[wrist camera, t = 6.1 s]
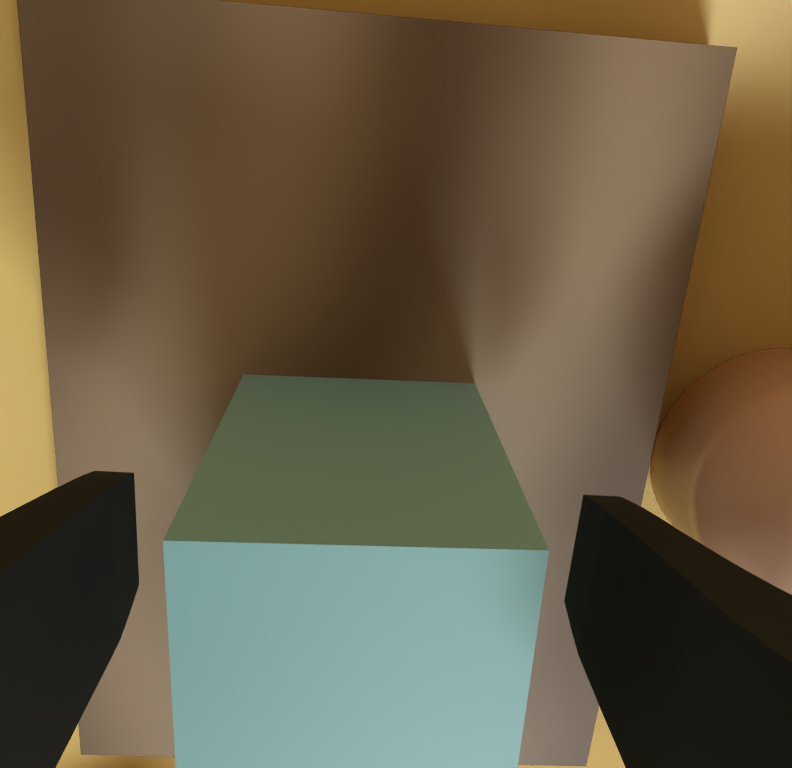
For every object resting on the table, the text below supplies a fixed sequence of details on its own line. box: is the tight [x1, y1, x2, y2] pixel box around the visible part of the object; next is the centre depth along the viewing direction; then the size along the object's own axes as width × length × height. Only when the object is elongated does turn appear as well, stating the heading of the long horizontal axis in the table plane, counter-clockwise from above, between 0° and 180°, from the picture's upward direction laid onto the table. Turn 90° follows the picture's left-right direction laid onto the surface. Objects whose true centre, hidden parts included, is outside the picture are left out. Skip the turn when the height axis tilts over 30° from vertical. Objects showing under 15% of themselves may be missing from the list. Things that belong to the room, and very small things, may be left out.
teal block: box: [163, 374, 549, 768], centre depth 12 cm, size 4×4×6 cm
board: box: [17, 0, 737, 766], centre depth 15 cm, size 12×16×1 cm
